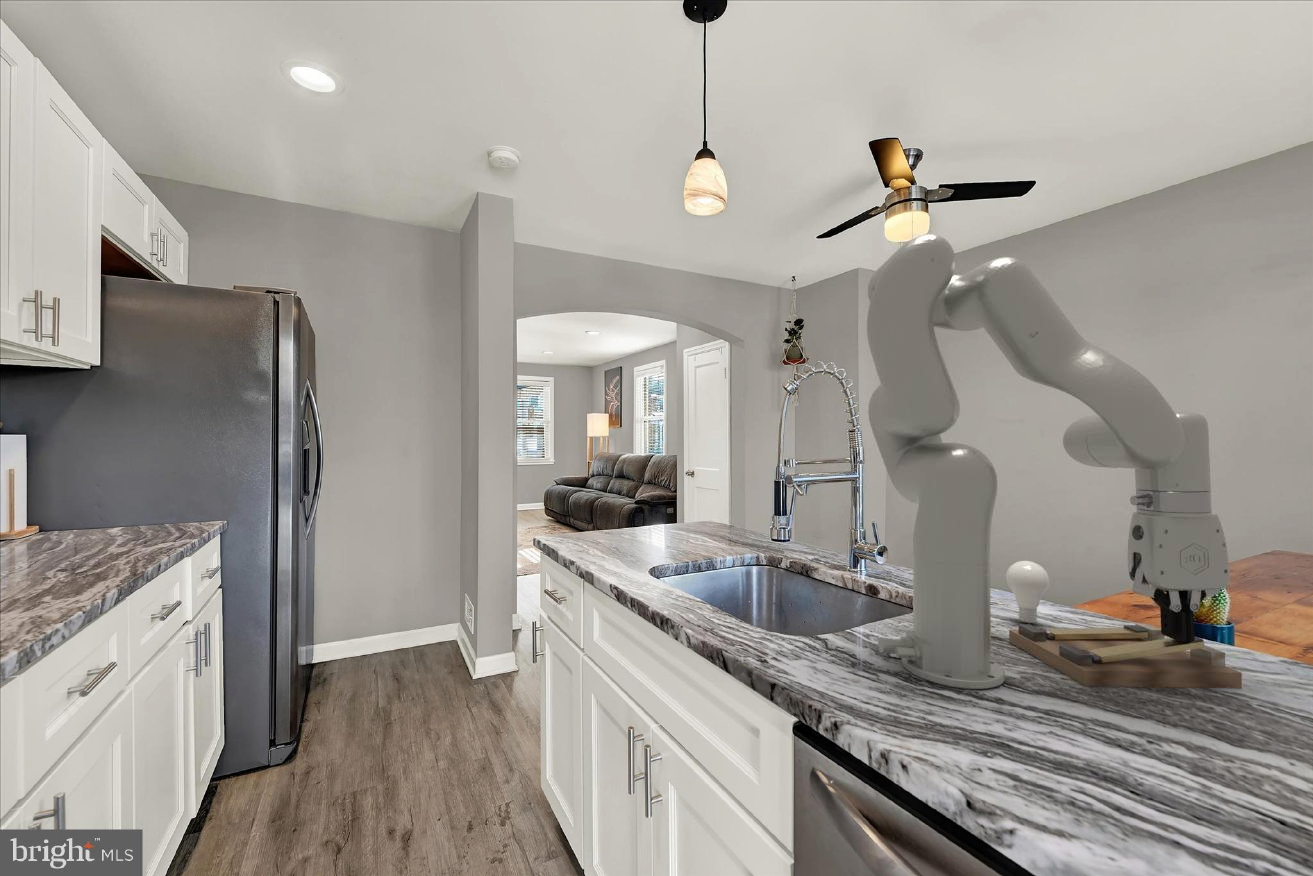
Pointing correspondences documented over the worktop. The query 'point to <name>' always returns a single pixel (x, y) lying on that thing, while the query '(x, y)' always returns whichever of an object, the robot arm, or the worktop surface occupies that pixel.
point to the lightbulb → (1027, 587)
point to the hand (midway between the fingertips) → (1177, 637)
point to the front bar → (1143, 649)
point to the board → (1128, 662)
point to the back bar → (1096, 633)
